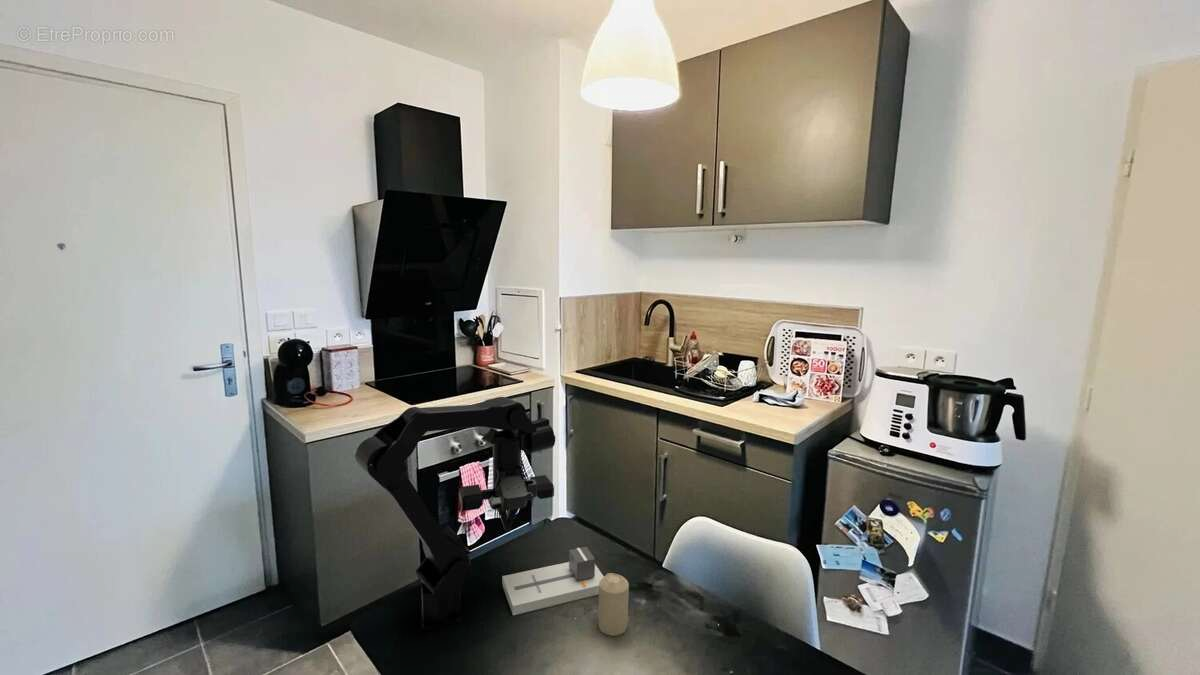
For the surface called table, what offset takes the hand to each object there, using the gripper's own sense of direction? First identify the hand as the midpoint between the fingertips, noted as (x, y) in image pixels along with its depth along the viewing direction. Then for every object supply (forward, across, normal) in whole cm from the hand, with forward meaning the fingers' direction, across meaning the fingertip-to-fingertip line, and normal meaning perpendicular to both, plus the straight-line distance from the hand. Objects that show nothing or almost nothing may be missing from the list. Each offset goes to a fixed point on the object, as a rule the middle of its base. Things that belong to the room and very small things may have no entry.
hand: (507, 530), depth 103 cm
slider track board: (+12, +9, -5) cm, 16 cm away
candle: (+12, +16, -19) cm, 28 cm away
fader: (+10, +15, -5) cm, 18 cm away
